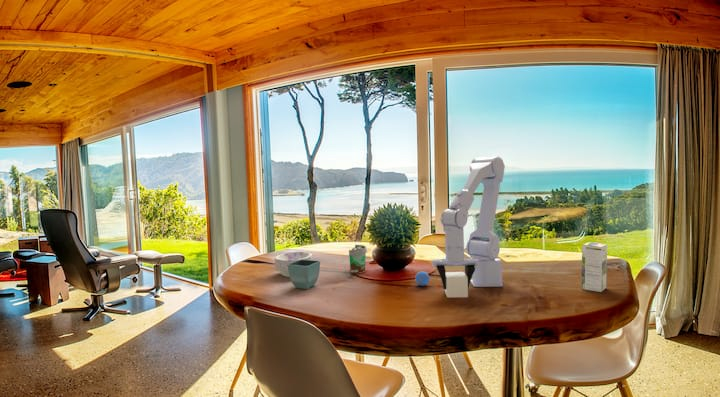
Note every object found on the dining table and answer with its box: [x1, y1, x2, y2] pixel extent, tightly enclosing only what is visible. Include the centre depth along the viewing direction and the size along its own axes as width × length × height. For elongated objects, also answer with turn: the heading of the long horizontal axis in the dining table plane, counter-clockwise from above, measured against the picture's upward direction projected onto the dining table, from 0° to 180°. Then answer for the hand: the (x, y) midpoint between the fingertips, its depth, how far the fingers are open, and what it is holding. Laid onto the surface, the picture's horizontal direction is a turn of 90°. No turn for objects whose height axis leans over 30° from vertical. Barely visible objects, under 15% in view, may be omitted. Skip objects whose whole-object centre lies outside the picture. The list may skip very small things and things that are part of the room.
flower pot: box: [288, 259, 321, 290], centre depth 136 cm, size 9×9×9 cm
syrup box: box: [581, 241, 608, 293], centre depth 120 cm, size 6×6×14 cm
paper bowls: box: [274, 251, 313, 278], centre depth 155 cm, size 15×15×8 cm
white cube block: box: [444, 271, 469, 298], centre depth 121 cm, size 6×6×6 cm
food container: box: [348, 244, 368, 275], centre depth 155 cm, size 12×6×10 cm, turn 168°
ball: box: [414, 270, 430, 287], centre depth 132 cm, size 5×5×5 cm
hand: (455, 288), depth 121 cm, fingers closed on white cube block, 6 cm apart
